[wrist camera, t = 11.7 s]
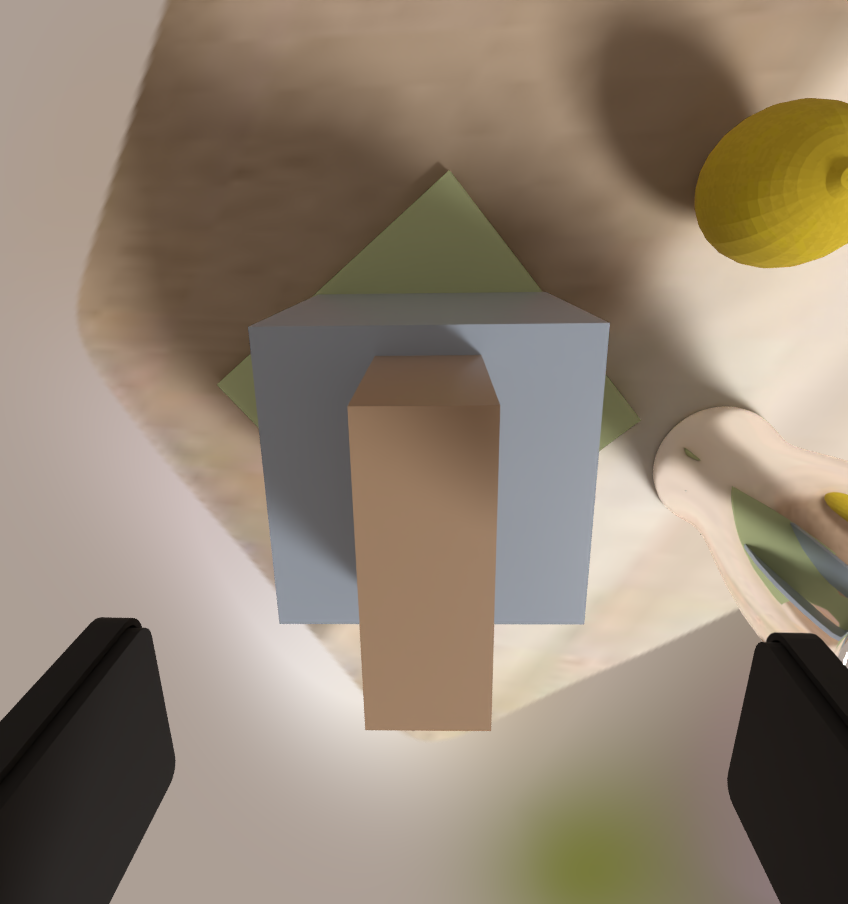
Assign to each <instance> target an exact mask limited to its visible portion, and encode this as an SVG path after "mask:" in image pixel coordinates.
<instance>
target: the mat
mask: <svg viewBox="0 0 848 904" xmlns="http://www.w3.org/2000/svg"><path fill="white" fill-rule="evenodd" d="M492 292H542V290H541V289H540V288H539V286H538V285H537V284H536V283H535V281H534V280H533V279H532V277H531V276H530V275H529V273H528V272H527V271H526V269H525V268H524V267H523V266H522V264H521V263H520V262H519V260H518V259H517V258H516V256H515V255H514V254H513V252H512V251H511V250H510V249H509V247H508V246H507V245H506V243H505V242H504V241H503V239H502V238H501V237H500V236H499V234H498V233H497V232H496V230H495V229H494V228H493V226H492V225H491V224H490V222H489V221H488V220H487V219H486V217H485V216H484V215H483V213H482V212H481V211H480V209H479V208H478V207H477V205H476V204H475V203H474V202H473V200H472V199H471V198H470V196H469V195H468V194H467V192H466V191H465V190H464V188H463V187H462V186H461V185H460V183H459V182H458V181H457V179H456V178H455V177H454V175H453V174H452V173H451V172H450V170H449V171H448V172H447V173H445V174H444V175H443V176H442V177H441V178H440V179H439V180H438V181H437V182H436V183H435V184H434V185H432V186H431V187H430V188H429V189H428V190H427V191H426V192H425V193H424V194H423V195H422V196H421V197H419V198H418V199H417V200H416V201H415V202H414V203H413V204H412V205H411V206H410V207H409V208H408V209H407V210H405V211H404V212H403V213H402V214H401V215H400V216H399V217H398V218H397V219H396V220H395V221H394V222H392V223H391V224H390V225H389V226H388V227H387V228H386V229H385V230H384V231H383V232H382V233H381V234H379V235H378V236H377V237H376V238H375V239H374V240H373V241H372V242H371V243H370V244H369V245H368V246H366V247H365V248H364V249H363V250H362V251H361V252H360V253H359V254H358V255H357V256H356V257H355V258H353V259H352V260H351V261H350V262H349V263H348V264H347V265H346V266H345V267H344V268H343V269H342V270H340V271H339V272H338V273H337V274H336V275H335V276H334V277H333V278H332V279H331V280H330V281H329V282H327V283H326V284H325V285H324V286H323V287H322V288H321V289H320V290H319V291H318V292H317V293H316V294H314V295H313V296H312V297H314V296H316V295H319V294H405V293H492ZM217 386H218V387H219V388H220V389H221V390H222V391H223V392H224V393H225V394H226V395H227V396H228V397H229V398H230V399H231V400H232V401H233V402H234V403H235V404H236V405H237V406H238V407H239V408H240V409H241V410H242V411H243V412H244V413H245V414H246V415H247V416H248V418H249V419H250V420H251V421H252V422H253V423H254V424H255V425H256V426H257V427H258V428H259V425H258V416H257V407H256V397H255V388H254V378H253V369H252V360H251V354H249V355H248V356H247V357H246V358H245V359H244V360H243V361H242V362H241V363H240V364H239V365H238V366H236V367H235V368H234V369H233V370H232V371H231V372H230V373H229V374H228V375H227V376H226V377H225V378H224V379H222V380H221V381H220V382H219V383H218V384H217ZM639 421H641V420H640V418H639V417H638V416H637V414H636V413H635V412H634V411H633V409H632V408H631V407H630V405H629V404H628V403H627V401H626V400H625V399H624V397H623V396H622V395H621V394H620V392H619V391H618V390H617V388H616V387H615V386H614V384H613V383H612V382H611V380H610V379H609V378H608V377H607V375H605V386H604V398H603V410H602V421H601V433H600V445H599V451H600V450H601V449H603V448H604V447H605V446H607V445H608V444H609V443H611V442H612V441H613V440H615V439H616V438H618V437H619V436H620V435H622V434H623V433H624V432H626V431H627V430H628V429H630V428H631V427H633V426H634V425H635V424H637V423H638V422H639Z"/></svg>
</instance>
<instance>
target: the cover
mask: <svg viewBox="0 0 848 904" xmlns="http://www.w3.org/2000/svg"><path fill="white" fill-rule="evenodd" d="M609 328H610V323H609V322H607V321H605V320H603V319H601V318H599V317H597V316H595V315H593V314H590V313H588V312H586V311H584V310H582V309H580V308H578V307H576V306H574V305H572V304H570V303H568V302H566V301H564V300H562V299H560V298H558V297H556V296H554V295H551V294H549V293H547V292H492V293H405V294H319V295H316V296H314V297H311V298H309V299H307V300H305V301H303V302H301V303H298V304H296V305H294V306H292V307H290V308H288V309H285V310H283V311H281V312H279V313H277V314H275V315H272V316H270V317H268V318H266V319H264V320H262V321H259V322H257V323H255V324H253V325H251V326H248V331H249V341H250V350H251V360H252V369H253V378H254V388H255V397H256V407H257V416H258V425H259V435H260V444H261V454H262V463H263V472H264V482H265V491H266V501H267V510H268V519H269V529H270V538H271V548H272V557H273V567H274V576H275V585H276V595H277V604H278V613H279V622H280V624H360V642H361V660H362V678H363V696H364V713H365V730H426V731H491V714H492V679H493V645H494V624H584V620H585V608H586V596H587V585H588V573H589V561H590V550H591V538H592V526H593V515H594V503H595V491H596V480H597V468H598V456H599V445H600V433H601V421H602V410H603V398H604V386H605V375H606V363H607V351H608V340H609Z"/></svg>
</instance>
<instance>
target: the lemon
mask: <svg viewBox="0 0 848 904" xmlns="http://www.w3.org/2000/svg"><path fill="white" fill-rule="evenodd" d="M695 212H696V217H697V221H698V225H699V227H700V229H701V231H702V233H703V234H704V236H705V238H706V240H707V241H708V242H709V243H710V244H711V245H712V246H713V247H714V248H715V249H716V250H717V251H718V252H719V253H721V254H722V255H724V256H726V257H728V258H730V259H732V260H734V261H736V262H738V263H741V264H745V265H750V266H754V267H759V268H779V267H791V266H796V265H800V264H803V263H806V262H809V261H812V260H816V259H819V258H821V257H824V256H826V255H828V254H830V253H832V252H833V251H835V250H837V249H839V248H840V247H842V246H844V245H845V244H847V243H848V103H845V102H842V101H838V100H829V99H816V98H805V99H798V100H794V101H789V102H784V103H779V104H776V105H772V106H770V107H768V108H766V109H764V110H762V111H760V112H758V113H756V114H754V115H752V116H750V117H748V118H746V119H745V120H743V121H742V122H741V123H739V124H738V125H737V126H736V127H734V128H733V129H732V130H731V131H729V132H728V133H727V134H726V135H725V136H724V137H723V138H722V139H721V140H720V141H719V143H718V144H717V145H716V146H715V148H714V149H713V150H712V151H711V153H710V154H709V155H708V157H707V159H706V161H705V163H704V165H703V167H702V169H701V171H700V174H699V178H698V181H697V185H696V189H695Z"/></svg>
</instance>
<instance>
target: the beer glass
mask: <svg viewBox="0 0 848 904" xmlns="http://www.w3.org/2000/svg"><path fill="white" fill-rule="evenodd" d="M653 480H654V485H655V489H656V492H657V494H658V496H659V498H660V500H661V501H662V503H663V504H664V505H665V506H666V508H667V509H669V510H670V511H671V512H672V513H673V514H675V515H676V516H678V517H679V518H681V519H683V520H685V521H687V522H688V523H690V524H692V525H693V526H694V527H695V528H696V529H697V530H698V531H699V532H700V533H701V534H700V535H702V536H703V538H704V540H705V542H706V544H707V546H708V548H709V550H710V552H711V555H712V557H713V559H714V561H715V563H716V566H717V568H718V570H719V572H720V574H721V576H722V578H723V580H724V582H725V584H726V586H727V588H728V590H729V592H730V594H731V595H732V597H733V599H734V601H735V602H736V604H737V606H738V608H739V609H740V611H741V613H742V614H743V616H744V617H745V619H746V620H747V621H748V623H749V624H750V625H751V626H752V628H753V629H754V631H755V632H756V633H757V635H758V636H759V637H760V639H761V640H762V642H766V640H767V637H768V636H769V635H770V634H771V633H774V632H782V633H812V634H816V635H817V636H819V637H820V638H821V639H822V640H823V641H824V642H825V643H826V645H827V646H828V647H829V648H830V649H831V650H832V651H833V652H834V653H835V655H836V656H837V657H838V658H839V659H840V660H841V661H842V662H843V664H844V665H845V666H846V667H847V668H848V461H847V460H844V459H840V458H836V457H833V456H829V455H825V454H821V453H817V452H813V451H809V450H806V449H802V448H799V447H796V446H794V445H791V444H789V443H788V442H787V441H785V440H784V439H783V438H782V436H781V435H780V434H779V433H778V432H777V431H776V430H775V429H774V427H773V426H772V425H771V424H770V423H769V422H767V421H766V420H765V419H764V418H762V417H761V416H759V415H758V414H756V413H754V412H752V411H749V410H746V409H743V408H739V407H730V406H721V407H713V408H708V409H705V410H701V411H699V412H696V413H694V414H692V415H690V416H688V417H687V418H685V419H684V420H682V421H681V422H680V423H678V424H677V425H676V426H675V427H674V428H673V429H672V430H671V431H670V432H669V433H668V434H667V435H666V437H665V438H664V440H663V441H662V443H661V445H660V446H659V448H658V451H657V453H656V456H655V460H654V465H653Z"/></svg>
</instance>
